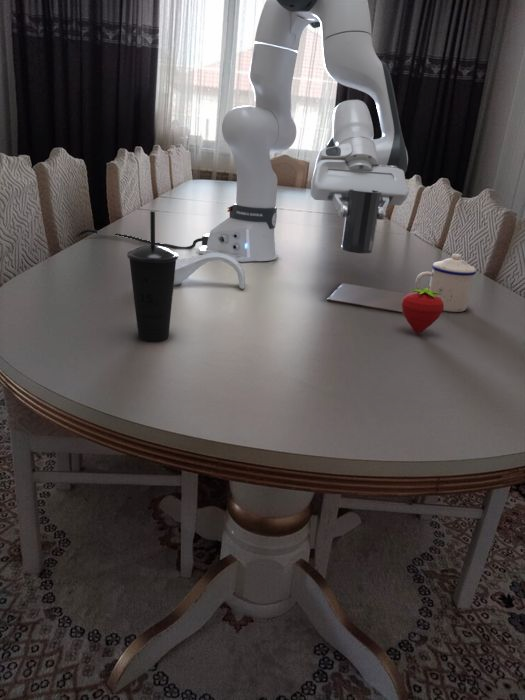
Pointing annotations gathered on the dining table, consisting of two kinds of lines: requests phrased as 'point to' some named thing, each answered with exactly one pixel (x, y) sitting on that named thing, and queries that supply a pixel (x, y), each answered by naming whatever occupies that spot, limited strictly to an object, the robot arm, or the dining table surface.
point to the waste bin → (361, 221)
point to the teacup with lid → (451, 282)
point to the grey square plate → (368, 297)
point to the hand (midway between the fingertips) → (362, 216)
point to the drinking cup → (152, 287)
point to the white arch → (192, 264)
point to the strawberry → (422, 308)
